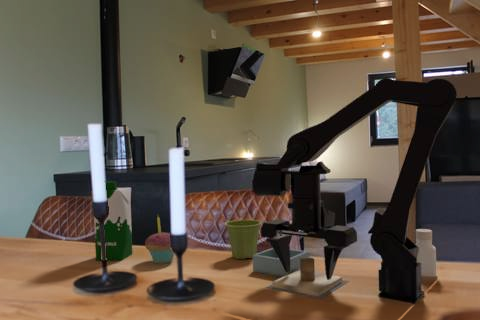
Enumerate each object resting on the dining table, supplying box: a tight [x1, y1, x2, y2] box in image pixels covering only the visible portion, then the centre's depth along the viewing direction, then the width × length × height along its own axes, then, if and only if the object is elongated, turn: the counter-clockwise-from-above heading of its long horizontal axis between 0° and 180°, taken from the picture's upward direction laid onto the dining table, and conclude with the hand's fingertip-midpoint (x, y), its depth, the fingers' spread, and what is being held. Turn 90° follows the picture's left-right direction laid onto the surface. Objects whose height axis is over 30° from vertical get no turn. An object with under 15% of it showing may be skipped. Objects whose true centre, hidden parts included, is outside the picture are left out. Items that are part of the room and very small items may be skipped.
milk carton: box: [91, 180, 133, 261], centre depth 115 cm, size 9×9×20 cm
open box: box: [252, 247, 310, 278], centre depth 98 cm, size 9×9×4 cm
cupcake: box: [144, 215, 175, 264], centre depth 110 cm, size 9×8×12 cm
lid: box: [272, 257, 343, 296], centre depth 87 cm, size 10×10×5 cm
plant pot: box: [224, 219, 262, 260], centre depth 111 cm, size 9×9×9 cm
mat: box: [265, 279, 350, 300], centre depth 87 cm, size 12×12×1 cm
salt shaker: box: [415, 228, 437, 278], centre depth 91 cm, size 4×4×10 cm
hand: (307, 275), depth 87 cm, fingers open, 9 cm apart
